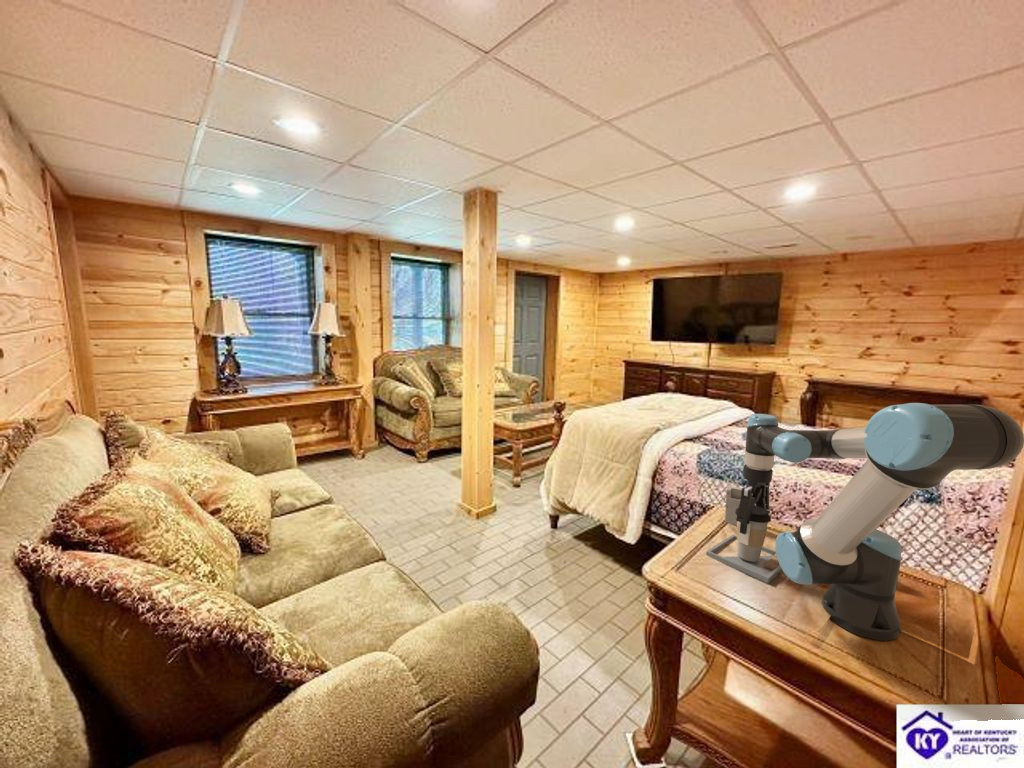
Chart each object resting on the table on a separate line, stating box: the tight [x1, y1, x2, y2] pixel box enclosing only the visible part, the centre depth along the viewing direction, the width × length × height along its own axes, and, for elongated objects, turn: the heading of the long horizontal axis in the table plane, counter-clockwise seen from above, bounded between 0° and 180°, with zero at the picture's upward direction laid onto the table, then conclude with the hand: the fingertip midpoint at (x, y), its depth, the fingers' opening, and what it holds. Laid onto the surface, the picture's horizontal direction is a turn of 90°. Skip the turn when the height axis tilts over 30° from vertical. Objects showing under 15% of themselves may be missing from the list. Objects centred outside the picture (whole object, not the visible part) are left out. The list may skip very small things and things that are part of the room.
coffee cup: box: [735, 506, 772, 562], centre depth 130 cm, size 9×9×15 cm
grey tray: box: [705, 534, 783, 585], centre depth 131 cm, size 18×18×2 cm
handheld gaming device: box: [724, 485, 756, 527], centre depth 150 cm, size 9×15×4 cm
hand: (750, 537), depth 130 cm, fingers closed on coffee cup, 9 cm apart
